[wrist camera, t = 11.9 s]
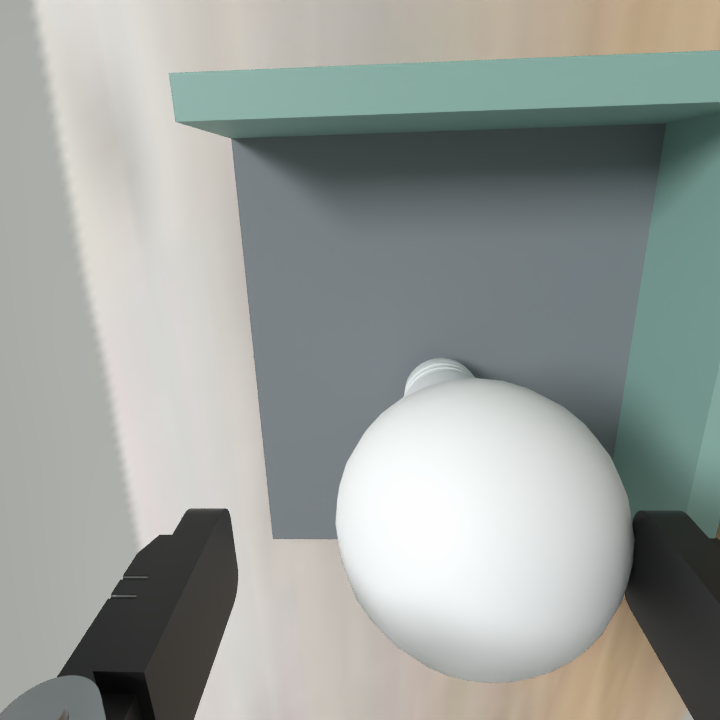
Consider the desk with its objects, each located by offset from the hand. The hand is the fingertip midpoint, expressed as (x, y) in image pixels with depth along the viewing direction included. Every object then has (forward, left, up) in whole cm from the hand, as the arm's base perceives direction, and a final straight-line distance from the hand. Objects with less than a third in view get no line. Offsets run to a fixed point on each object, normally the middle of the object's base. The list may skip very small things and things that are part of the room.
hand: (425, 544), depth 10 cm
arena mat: (0, +2, -9) cm, 10 cm away
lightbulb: (+1, +1, -9) cm, 9 cm away
